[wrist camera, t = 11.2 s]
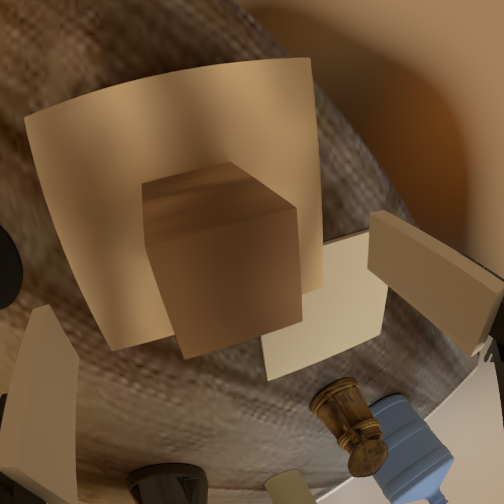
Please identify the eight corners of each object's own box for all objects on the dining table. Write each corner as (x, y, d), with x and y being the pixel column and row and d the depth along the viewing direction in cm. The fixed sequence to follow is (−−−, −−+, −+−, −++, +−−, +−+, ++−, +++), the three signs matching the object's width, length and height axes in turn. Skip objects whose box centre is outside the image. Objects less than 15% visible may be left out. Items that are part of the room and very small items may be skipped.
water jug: (338, 426, 56) (408, 531, 32) (401, 381, 57) (480, 475, 33) (351, 444, 64) (407, 529, 41) (403, 407, 65) (467, 485, 42)
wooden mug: (336, 358, 44) (406, 451, 29) (362, 387, 51) (418, 460, 36) (288, 395, 44) (344, 493, 29) (322, 417, 52) (371, 493, 36)
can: (291, 482, 65) (309, 518, 55) (258, 489, 61) (276, 528, 51) (306, 466, 62) (327, 505, 52) (272, 473, 58) (292, 516, 48)
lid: (112, 340, 21) (117, 449, 13) (30, 116, 13) (-56, 136, 5) (315, 279, 25) (387, 356, 17) (300, 59, 17) (410, 47, 9)
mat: (266, 377, 40) (267, 381, 40) (248, 264, 32) (250, 267, 31) (377, 331, 45) (379, 334, 44) (391, 221, 36) (394, 223, 35)
